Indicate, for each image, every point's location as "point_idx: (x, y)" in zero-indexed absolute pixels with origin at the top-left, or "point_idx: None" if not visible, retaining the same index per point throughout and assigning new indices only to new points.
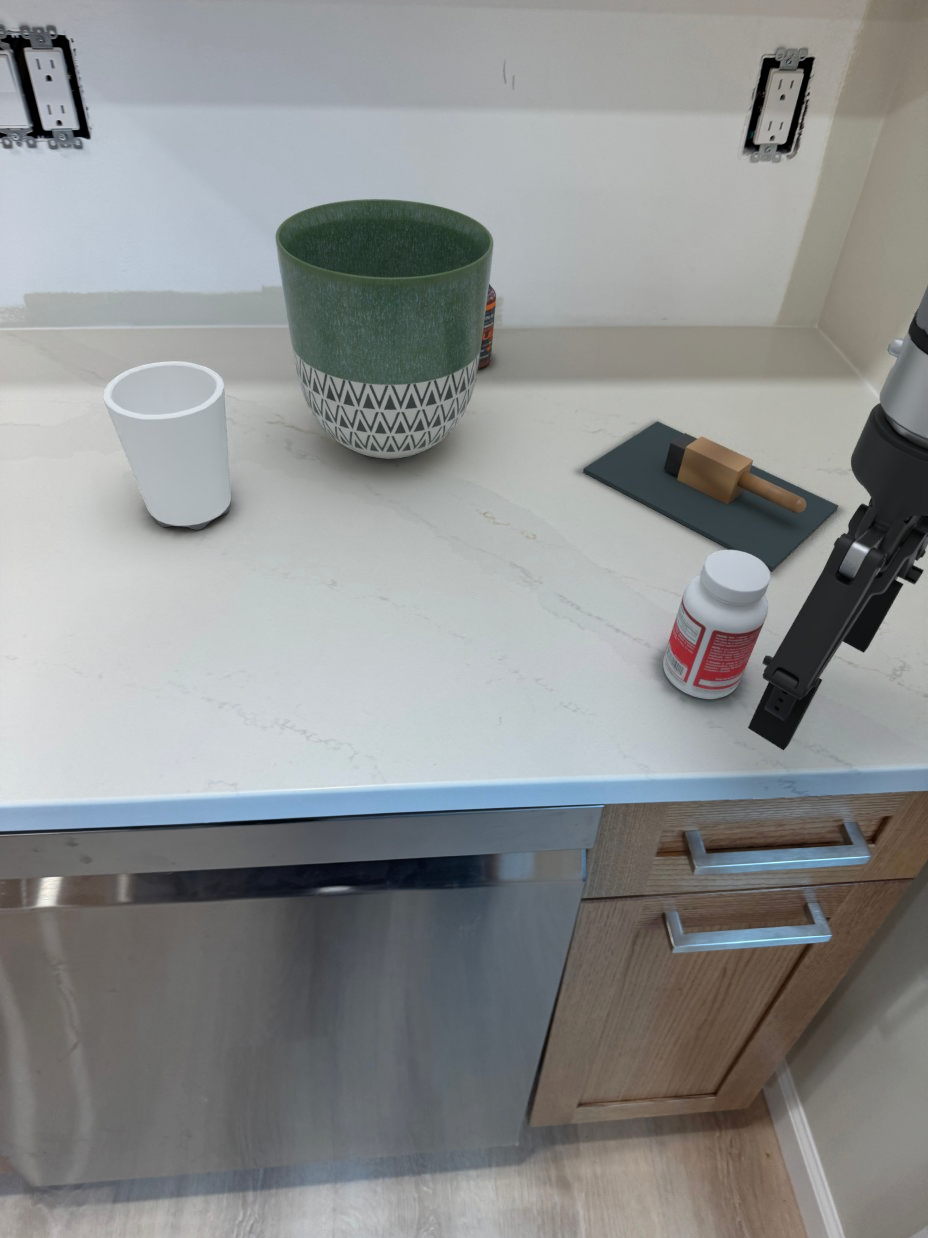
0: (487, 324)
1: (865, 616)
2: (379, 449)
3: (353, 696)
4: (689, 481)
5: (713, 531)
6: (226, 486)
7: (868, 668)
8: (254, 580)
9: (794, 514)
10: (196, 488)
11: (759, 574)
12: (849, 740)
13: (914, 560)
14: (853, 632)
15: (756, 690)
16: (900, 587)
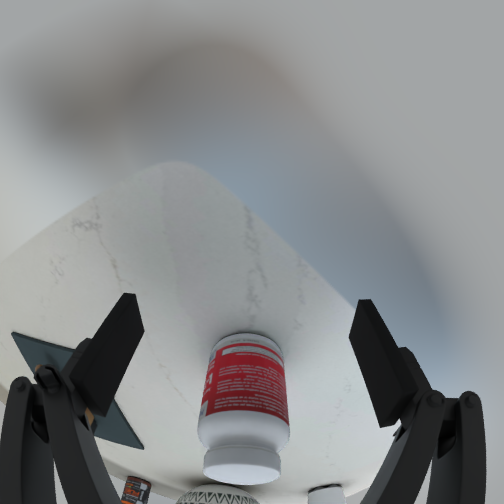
0: (130, 496)
1: (119, 345)
2: (250, 499)
3: (395, 428)
4: (89, 414)
5: None
6: (319, 498)
7: (105, 249)
8: (349, 470)
9: (40, 356)
10: (336, 502)
11: (229, 469)
12: (212, 221)
13: (46, 410)
14: (132, 325)
15: (224, 317)
16: (78, 379)
